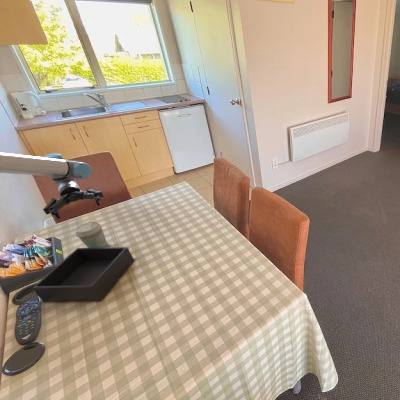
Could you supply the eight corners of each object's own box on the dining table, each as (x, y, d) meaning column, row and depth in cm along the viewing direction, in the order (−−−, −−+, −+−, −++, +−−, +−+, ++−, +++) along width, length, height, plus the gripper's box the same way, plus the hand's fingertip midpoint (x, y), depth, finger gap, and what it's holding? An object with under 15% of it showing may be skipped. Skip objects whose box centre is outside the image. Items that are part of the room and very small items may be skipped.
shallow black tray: (43, 301, 91) (31, 288, 87) (85, 261, 108) (77, 247, 104) (100, 300, 91) (91, 286, 87) (134, 260, 108) (127, 247, 104)
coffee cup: (102, 255, 110) (89, 233, 104) (82, 255, 110) (68, 233, 104) (116, 242, 117) (104, 220, 111) (97, 242, 118) (84, 220, 111)
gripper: (105, 189, 134) (116, 204, 121) (39, 209, 118) (43, 229, 106) (98, 175, 130) (109, 190, 117) (29, 195, 114) (32, 214, 102)
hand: (78, 209), depth 111 cm, fingers open, 13 cm apart
